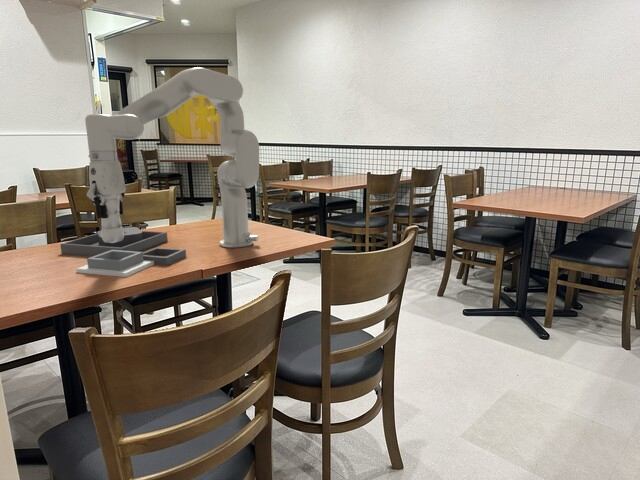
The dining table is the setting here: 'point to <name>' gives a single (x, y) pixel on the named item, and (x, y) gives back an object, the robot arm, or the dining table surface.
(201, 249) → the dining table surface
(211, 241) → the dining table surface
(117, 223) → the plastic bottle
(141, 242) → the dark grey organizer tray
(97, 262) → the board
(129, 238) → the streaming box
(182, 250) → the tray
